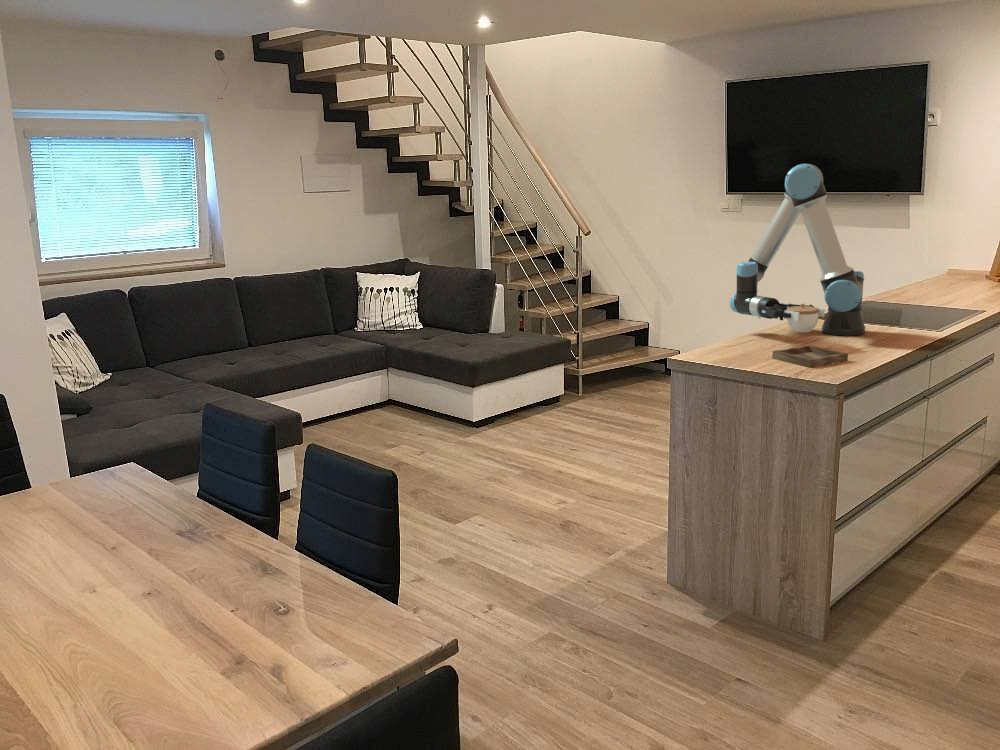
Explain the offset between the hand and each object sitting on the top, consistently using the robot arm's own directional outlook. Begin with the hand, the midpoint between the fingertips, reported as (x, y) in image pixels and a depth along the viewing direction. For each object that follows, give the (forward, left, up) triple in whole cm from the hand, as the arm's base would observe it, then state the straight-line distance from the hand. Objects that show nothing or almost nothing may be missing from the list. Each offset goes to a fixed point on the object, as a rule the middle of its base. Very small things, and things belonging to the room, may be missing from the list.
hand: (811, 314), depth 299 cm
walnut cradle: (+13, +12, -12) cm, 21 cm away
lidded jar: (0, -4, -6) cm, 8 cm away
